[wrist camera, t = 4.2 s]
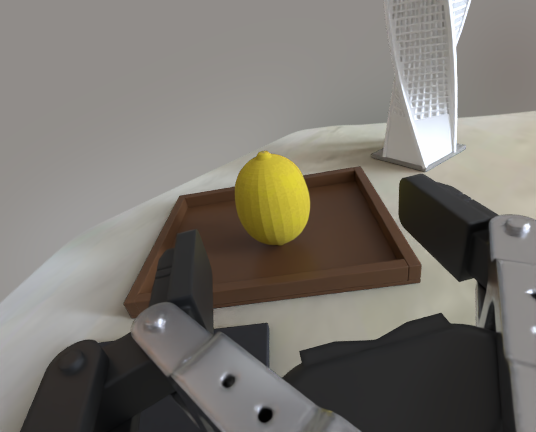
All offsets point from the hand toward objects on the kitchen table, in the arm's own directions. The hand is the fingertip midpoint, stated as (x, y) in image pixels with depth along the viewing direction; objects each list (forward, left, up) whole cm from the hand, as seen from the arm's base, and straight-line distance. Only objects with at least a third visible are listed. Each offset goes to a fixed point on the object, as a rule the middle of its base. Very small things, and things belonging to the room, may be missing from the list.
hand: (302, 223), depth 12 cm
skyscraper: (+14, +24, -9) cm, 29 cm away
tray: (-3, +13, -9) cm, 16 cm away
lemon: (-2, +11, -9) cm, 14 cm away
